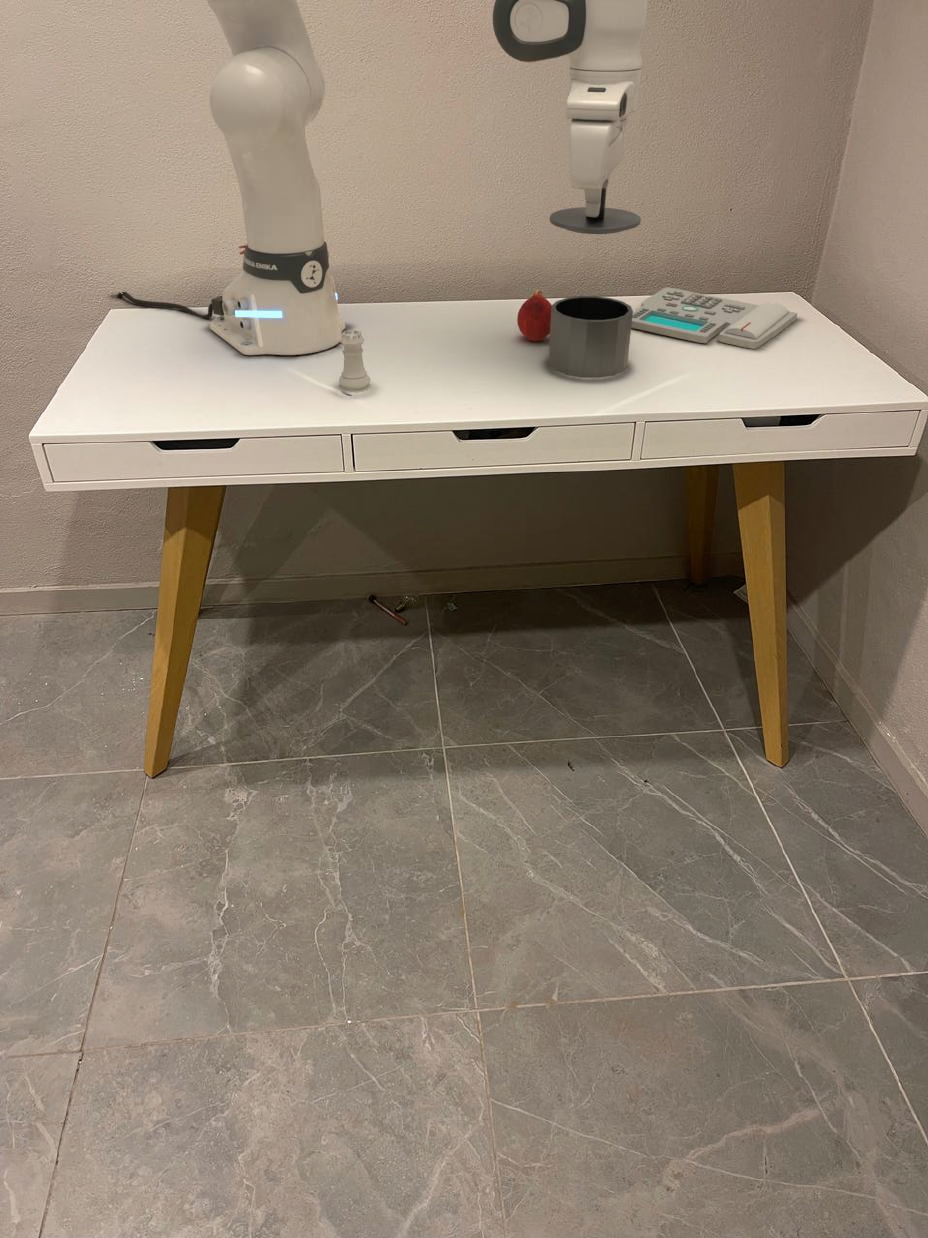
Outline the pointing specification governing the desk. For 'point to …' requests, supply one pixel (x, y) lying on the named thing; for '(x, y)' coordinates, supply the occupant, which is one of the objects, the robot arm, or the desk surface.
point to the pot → (589, 336)
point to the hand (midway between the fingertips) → (595, 212)
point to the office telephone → (711, 318)
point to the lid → (595, 219)
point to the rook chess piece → (353, 364)
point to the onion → (535, 317)
